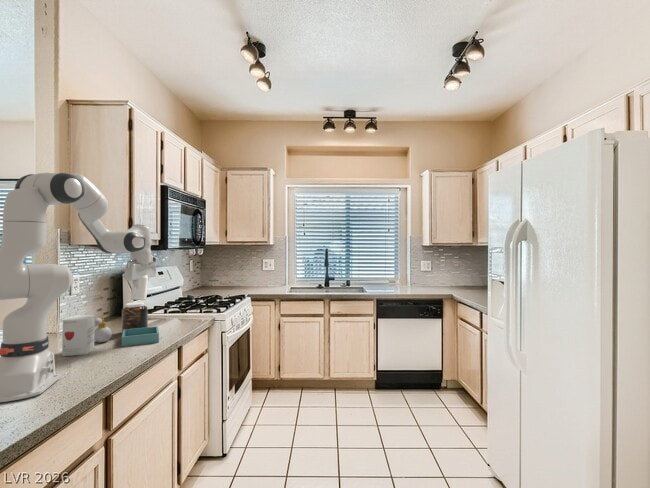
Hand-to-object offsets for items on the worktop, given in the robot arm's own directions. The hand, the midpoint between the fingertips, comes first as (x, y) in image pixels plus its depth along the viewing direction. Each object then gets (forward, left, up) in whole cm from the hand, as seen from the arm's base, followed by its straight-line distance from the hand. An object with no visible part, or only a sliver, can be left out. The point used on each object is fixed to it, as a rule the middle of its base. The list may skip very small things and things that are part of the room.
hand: (140, 288), depth 165 cm
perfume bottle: (+4, +16, -25) cm, 30 cm away
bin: (0, 0, -25) cm, 25 cm away
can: (-1, +1, -5) cm, 5 cm away
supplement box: (-9, +23, -25) cm, 35 cm away
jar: (+18, +3, -25) cm, 31 cm away
